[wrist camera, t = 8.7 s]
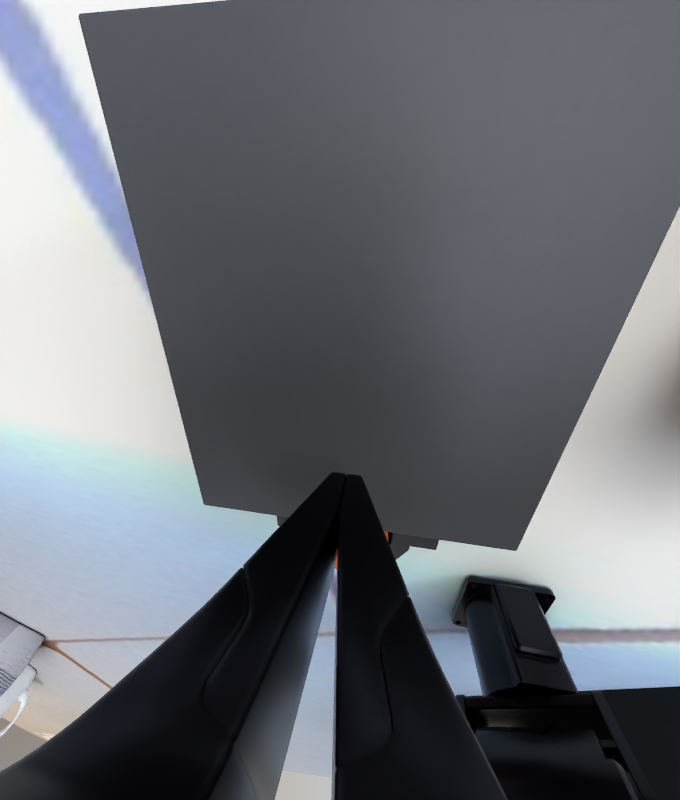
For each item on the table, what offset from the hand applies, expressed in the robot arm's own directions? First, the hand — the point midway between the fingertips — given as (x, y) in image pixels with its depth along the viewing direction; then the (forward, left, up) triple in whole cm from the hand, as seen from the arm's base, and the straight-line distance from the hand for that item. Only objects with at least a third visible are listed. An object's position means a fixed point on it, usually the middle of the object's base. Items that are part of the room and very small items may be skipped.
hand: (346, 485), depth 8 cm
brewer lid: (+3, 0, -3) cm, 4 cm away
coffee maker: (-40, -28, -10) cm, 49 cm away
